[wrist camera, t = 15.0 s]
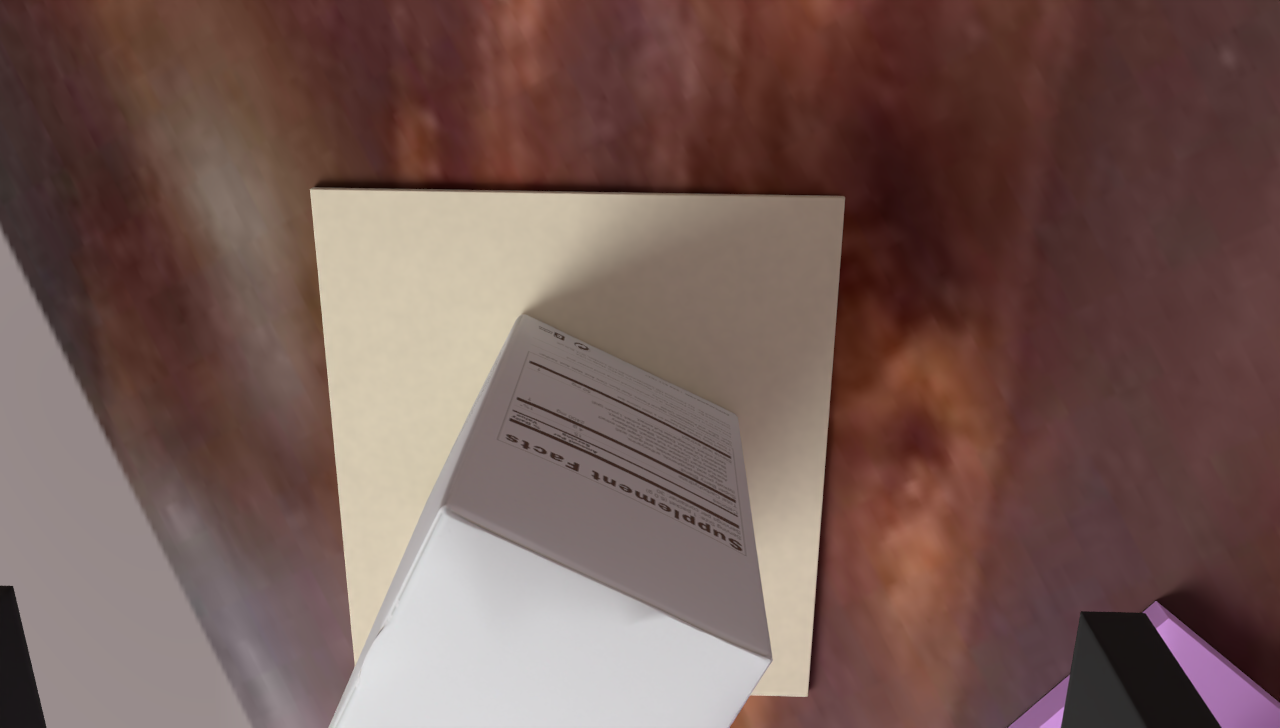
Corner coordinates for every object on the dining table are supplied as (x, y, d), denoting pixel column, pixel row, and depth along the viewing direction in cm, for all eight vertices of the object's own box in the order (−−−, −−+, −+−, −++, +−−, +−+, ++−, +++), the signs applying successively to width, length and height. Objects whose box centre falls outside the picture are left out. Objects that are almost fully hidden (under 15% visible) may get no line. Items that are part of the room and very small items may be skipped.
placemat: (844, 195, 38) (845, 197, 37) (807, 692, 45) (807, 697, 44) (312, 187, 38) (309, 188, 38) (358, 680, 45) (356, 684, 45)
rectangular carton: (633, 606, 43) (613, 924, 29) (420, 508, 42) (291, 792, 28) (748, 413, 40) (786, 665, 26) (522, 303, 39) (434, 504, 25)
